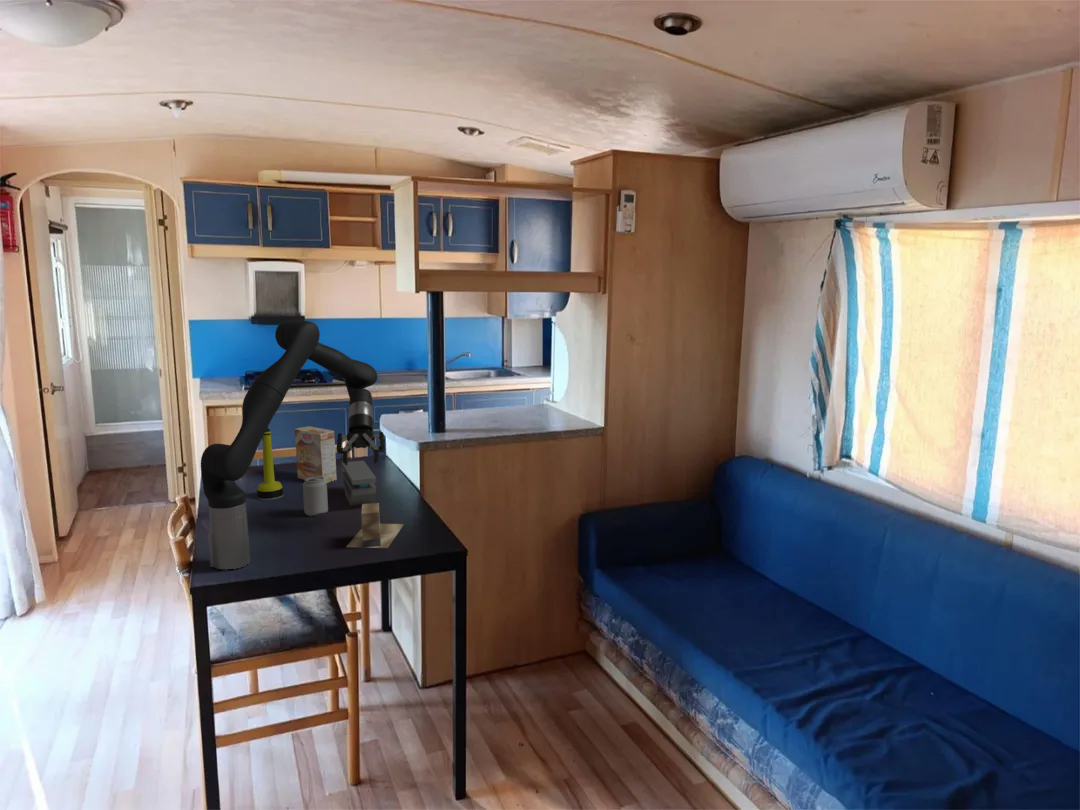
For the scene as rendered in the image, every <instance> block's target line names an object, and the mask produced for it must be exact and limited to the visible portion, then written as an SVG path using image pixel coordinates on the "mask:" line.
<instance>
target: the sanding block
mask: <svg viewBox="0 0 1080 810" xmlns="http://www.w3.org/2000/svg"><path fill="white" fill-rule="evenodd" d="M360 513H361V529H362V536H363V538H362V544H363V547H374V546H381V534H380V524H381V521H380V503H379V502H374V503H370V504H362V505H361V512H360Z"/></svg>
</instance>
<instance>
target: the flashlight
mask: <svg viewBox="0 0 1080 810" xmlns="http://www.w3.org/2000/svg"><path fill="white" fill-rule="evenodd" d="M271 434H272V431H271V429H270V428H269V426H268V427H267V429H266V431H265V433H264V435H263V437H262V439H261V441H262V443H261V444H262V463H263V481H262V482H260V483H259V484H258V486H257V489H256V498H257V499H258V500H262V501H270V500H276V499H280V498H282V497H283V496H285V493H284V488H283V485H282V483H281V482H280V481H279V480H278V481H277V480H275V479H276V478H275V471H276V468H275V466H274V459H273V458H274V456H273V446H272V436H271Z"/></svg>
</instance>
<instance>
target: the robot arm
mask: <svg viewBox="0 0 1080 810" xmlns="http://www.w3.org/2000/svg"><path fill="white" fill-rule="evenodd" d="M320 333H321V332H320V329H319V326H318V325H317V324H316V323H314V322H312V321H310V320H295V319H294V320H291V319H289V320H284V321H282V322H280V323H278V326H277V327H276V328H275V333H274V334H275V335H274V338H275V341H276V343H277V345H278V346H279V347H280V348H281V349H282V350H285V351H284V352H283V354H282V356H280V358H279V359H277V360H276V361H275V362H274V363H273V364H272V365H269V367H267V368H266V369H265V370H263V371H262V372H260V373H259V375H258V376H257V377H255V379H254V380H253V382H252V383H251V385H250V387H249V388H248V390H247V392H246V393H245V395H244V399H242V406H241V407H242V412H241V414H242V417H241V418H242V421H241V426H240V428H239V431H238V433H237V434H236V436H235V438H234V440H232V443H231V444H224V443H213V444H209V446H207V447H206V448H205V449H204V450H203V452H202V453H201V454H202V455H201V459H200V472H201V473H200V474H201V479H202V488H203V493H204V496H205V498H206V499H207V503H208V513H209V514H208V516H209V526H210V531H209V533H207V543H208V555H209V556H208V557H209V568H210V567H215V568H217V569H216V570H218V569H226V570H225V571H228V570H227V569H234V570H238V569H241V567H242V568H243V567H246V566H248V565H249V564H250V563H251V553H250V552H251V551H250V542H249V540H250V539H249V529H248V528H249V527H248V525H249V524H248V513H247V512H248V511H247V501H246V498H247V497H246V493H245V491H244V490H243V489H242V488H241V487H240V486H238V484H237V483H236V482H235V481H238V480H240V479H242V478H243V477H244V476H245V474H247V472H248V470H249V468H250V467H251V464H252V463H253V460H254V457H255V455H256V452H257V450H258V448H259V445H260V443H261V441H262V437H263V435H264V433H265V431H266V429H267V427H268V428H269V426H270V424H271V422H272V420H273V418H274V416H275V415H276V413H277V411H278V410H279V408H280V406H281V405H282V402H283V401H284V399H285V397H286V395H287V393H288V391H289V389H290V388H291V386H292V384H293V383H294V381H295V379H296V378H297V376H298V374H299V372H300V371H301V370H302V368H303V367H304V365H305V364H306V363H307V361H312V362H313V363H315V364H316V365H319V366H320V367H322V368H324V369H326V370H327V371H328V372H331V373H332V374H333V375H335V376H337V377H338V378H340V379H343V381H344V384H345V387H346V388H345V389H346V391H347V394H348V397H349V407H348V419H347V421H348V425H347V426H348V427H347V430H348V431H347V434H342V433H340V432H338V433H337V438H336V439H337V440H336V453H337V454H340V455H342V463H343V464H345V465H348V462H349V460H348V456H349V453H350V452H352V450H353V449H354V448H355V449H360V448H361V449H366V448H368V449H369V450H370V451H372V452H373V465H377V463H379V462H380V461H379V454H380V453H384V452H385V451H386V450H385V438H384V432H382V431H379V433H374V413H373V411H374V410H373V395H372V392H371V391H370V390H369V389H366V388H368V387H371V386H373V385H374V384H375V383H376V382H377V381H378V372H377V371H376V369H375V368H374V367H373V366H372V365H371V364H369V363H367V362H364V361H360V360H357V359H354V358H351V357H349V356H348V355H346V354H345V353H344V352H342V351H340V350H338V349H336V348H334V347H332V346H330V345H329V346H328V345H326V344H323V343H321V342H319V341H320V336H321V335H320ZM375 439H376V440H377V441H378V442H379V446H377V444H375V442H374V441H375ZM346 440H347V442H346V444H345V445H344V447H342V446H343V445H342V444H343V443H344V442H345V441H346ZM247 564H248V565H247ZM215 568H214V569H215ZM237 568H238V569H237Z"/></svg>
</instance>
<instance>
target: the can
mask: <svg viewBox="0 0 1080 810" xmlns="http://www.w3.org/2000/svg"><path fill="white" fill-rule="evenodd" d="M327 484H328V483H327V482H326V481H325V480H324V477H319V476H315V477H309V478H306V479H305V480H304V482H303V483H302V493H303V495H302V496H303V509H304V510H303V511H304V514H305V515H307V516H309V517H313V516H314V517H318V514H322V513H328V512H329V504H328V503H329V501H328V499H329V498H328V485H327Z"/></svg>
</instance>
